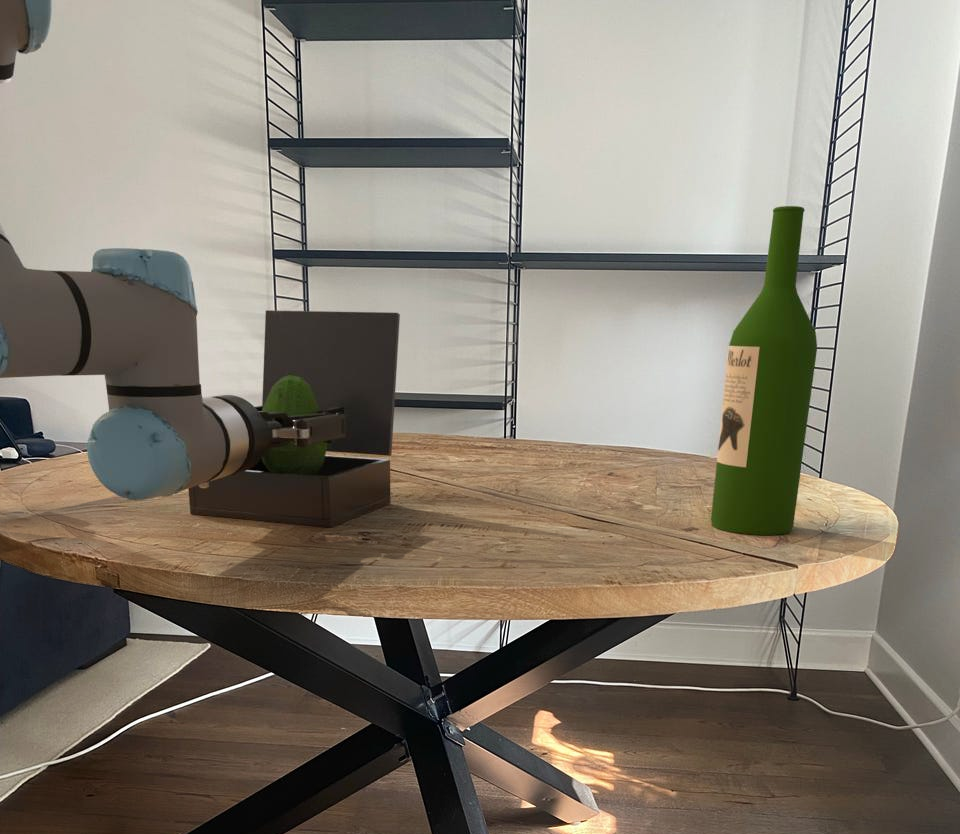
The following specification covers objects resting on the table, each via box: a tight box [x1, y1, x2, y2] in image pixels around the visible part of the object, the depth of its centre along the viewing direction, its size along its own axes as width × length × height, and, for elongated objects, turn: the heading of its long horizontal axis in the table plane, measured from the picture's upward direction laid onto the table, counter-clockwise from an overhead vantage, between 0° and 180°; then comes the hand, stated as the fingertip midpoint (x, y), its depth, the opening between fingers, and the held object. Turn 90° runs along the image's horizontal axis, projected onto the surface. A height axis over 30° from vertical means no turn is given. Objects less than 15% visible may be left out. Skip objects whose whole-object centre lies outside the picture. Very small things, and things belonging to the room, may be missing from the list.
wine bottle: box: [710, 205, 818, 536], centre depth 97 cm, size 9×9×32 cm
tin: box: [187, 454, 392, 529], centre depth 106 cm, size 16×18×5 cm
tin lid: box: [261, 310, 401, 457], centre depth 110 cm, size 16×18×1 cm
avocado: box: [262, 375, 327, 475], centre depth 103 cm, size 8×8×12 cm
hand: (306, 417), depth 108 cm, fingers closed on avocado, 8 cm apart
